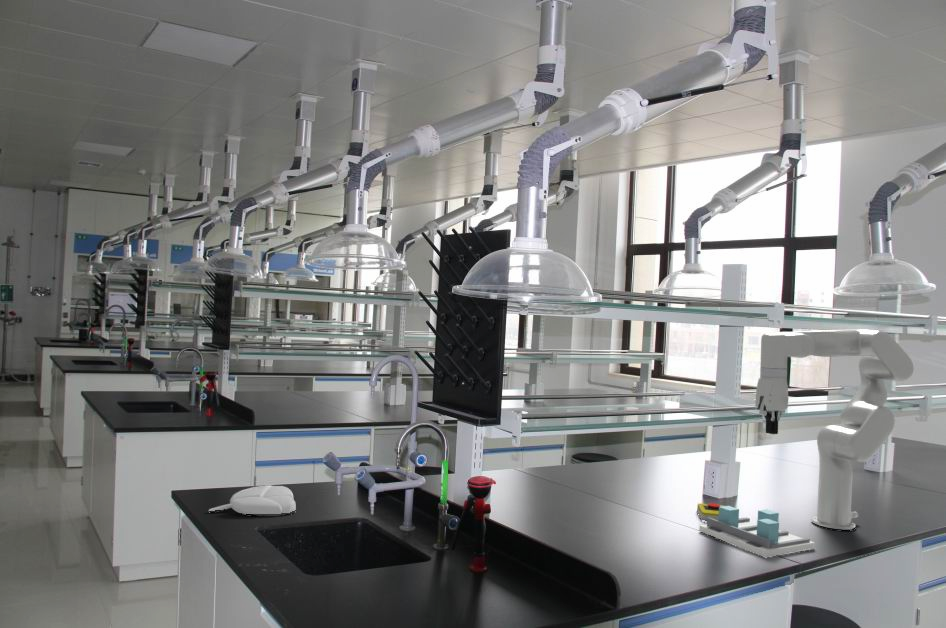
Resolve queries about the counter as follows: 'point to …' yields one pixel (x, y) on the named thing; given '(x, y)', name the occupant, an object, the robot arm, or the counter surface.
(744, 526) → the white ridged tray
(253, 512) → the white computer mouse
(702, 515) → the emergency button
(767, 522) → the teal rectangular block
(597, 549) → the counter surface
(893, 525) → the counter surface
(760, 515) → the light teal block
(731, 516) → the teal rectangular block
